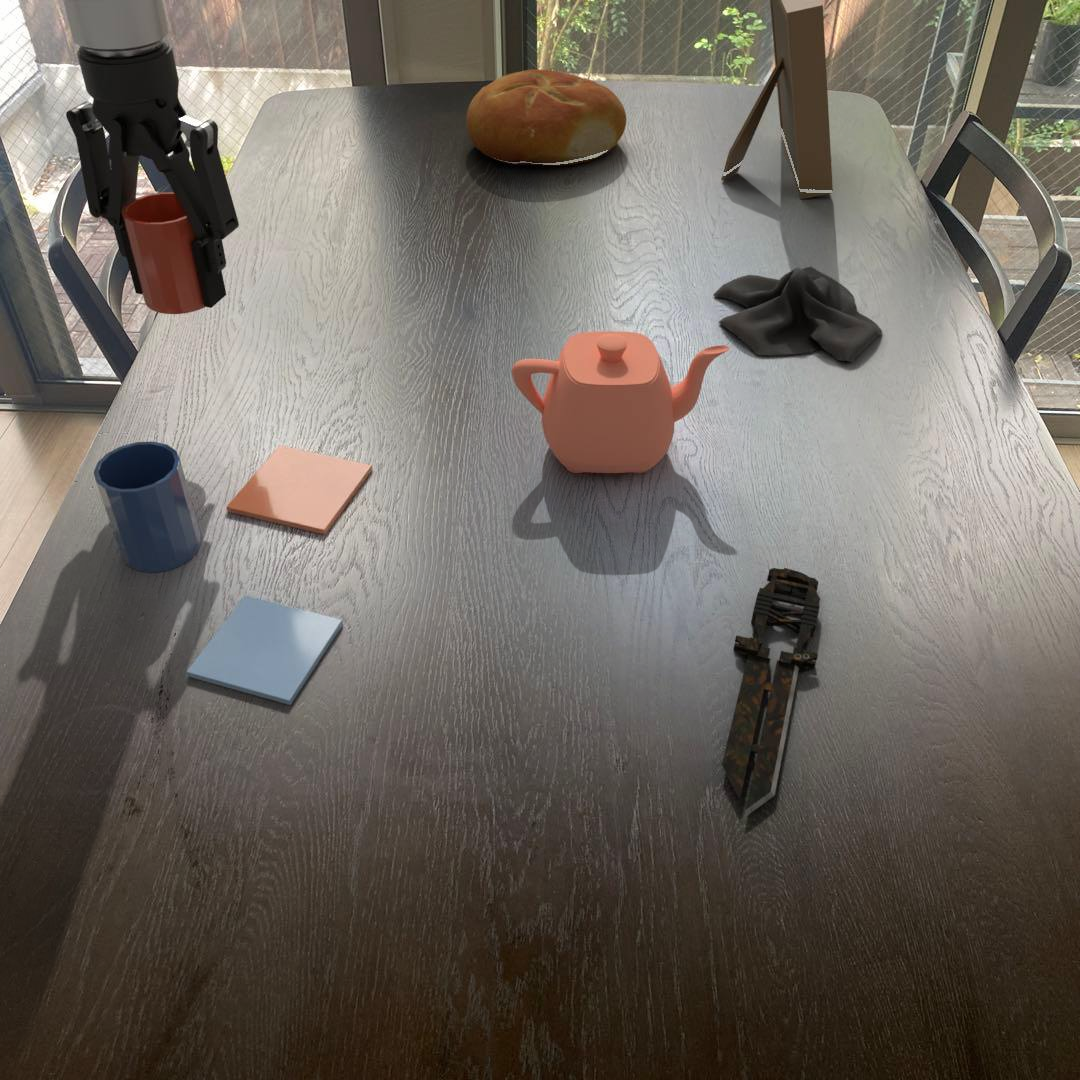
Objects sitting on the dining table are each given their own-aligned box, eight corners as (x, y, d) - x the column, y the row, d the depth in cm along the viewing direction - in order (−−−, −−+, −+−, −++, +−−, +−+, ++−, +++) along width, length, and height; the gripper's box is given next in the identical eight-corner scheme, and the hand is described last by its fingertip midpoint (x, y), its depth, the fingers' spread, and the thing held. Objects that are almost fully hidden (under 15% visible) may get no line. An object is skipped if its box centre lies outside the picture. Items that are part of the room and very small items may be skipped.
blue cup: (105, 562, 94) (76, 481, 88) (150, 514, 99) (125, 435, 93) (173, 580, 92) (148, 499, 86) (215, 530, 97) (195, 450, 91)
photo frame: (809, 138, 166) (839, -42, 149) (831, 199, 149) (868, 5, 133) (712, 136, 166) (732, -43, 149) (724, 197, 150) (747, 3, 133)
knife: (763, 830, 74) (766, 818, 73) (674, 798, 76) (675, 786, 75) (838, 593, 92) (841, 581, 91) (763, 572, 93) (766, 560, 92)
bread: (607, 185, 153) (610, 114, 146) (448, 169, 157) (445, 99, 150) (634, 126, 169) (638, 59, 162) (490, 113, 173) (488, 47, 166)
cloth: (894, 367, 118) (907, 317, 114) (723, 362, 118) (730, 313, 114) (857, 269, 134) (867, 222, 130) (708, 266, 135) (713, 219, 131)
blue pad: (187, 676, 84) (185, 671, 84) (246, 599, 91) (245, 594, 90) (290, 705, 82) (289, 700, 82) (343, 624, 89) (342, 619, 88)
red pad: (227, 511, 99) (225, 506, 99) (280, 449, 106) (279, 444, 106) (325, 535, 97) (324, 530, 96) (372, 470, 104) (372, 465, 103)
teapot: (724, 489, 102) (740, 380, 94) (512, 490, 102) (509, 381, 94) (706, 408, 112) (720, 303, 104) (513, 408, 112) (512, 303, 104)
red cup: (130, 307, 102) (106, 217, 96) (170, 275, 107) (150, 187, 101) (193, 319, 101) (172, 229, 95) (230, 286, 106) (213, 198, 100)
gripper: (253, 42, 89) (291, 293, 104) (50, 16, 94) (116, 260, 109) (203, 71, 84) (252, 331, 99) (-8, 42, 88) (69, 294, 104)
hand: (181, 293), depth 104 cm, fingers closed on red cup, 7 cm apart
